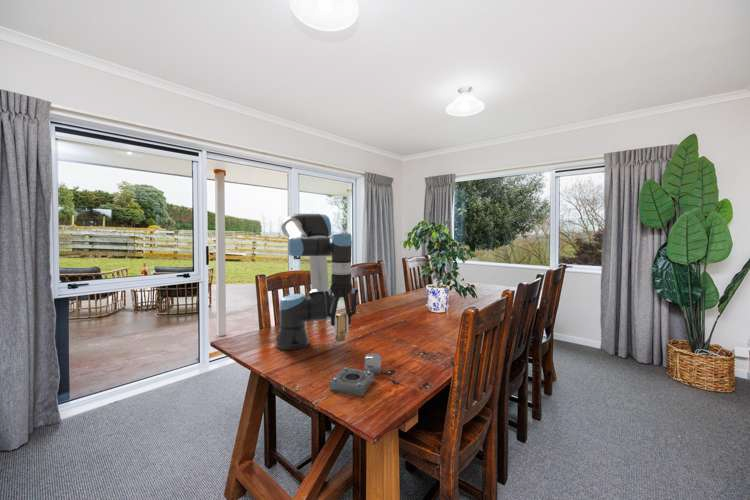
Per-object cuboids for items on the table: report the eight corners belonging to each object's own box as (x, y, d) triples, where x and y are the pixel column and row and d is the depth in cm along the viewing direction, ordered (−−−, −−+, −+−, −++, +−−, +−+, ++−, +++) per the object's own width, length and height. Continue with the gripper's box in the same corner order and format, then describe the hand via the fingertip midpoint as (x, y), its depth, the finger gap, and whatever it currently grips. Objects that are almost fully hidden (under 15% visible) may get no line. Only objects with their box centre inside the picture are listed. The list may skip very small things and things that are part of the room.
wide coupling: (362, 373, 123) (362, 358, 123) (367, 366, 130) (368, 352, 129) (377, 376, 121) (378, 360, 121) (382, 369, 127) (383, 354, 127)
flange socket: (329, 389, 110) (329, 379, 110) (344, 374, 122) (344, 365, 122) (362, 396, 107) (362, 386, 106) (373, 380, 118) (374, 370, 118)
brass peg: (333, 340, 124) (333, 315, 123) (338, 337, 127) (339, 312, 127) (342, 342, 122) (342, 316, 122) (347, 339, 126) (347, 313, 125)
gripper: (321, 275, 117) (321, 338, 118) (365, 273, 123) (364, 333, 124) (317, 272, 124) (317, 332, 125) (359, 271, 130) (358, 328, 131)
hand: (340, 333), depth 125 cm, fingers closed on brass peg, 4 cm apart
